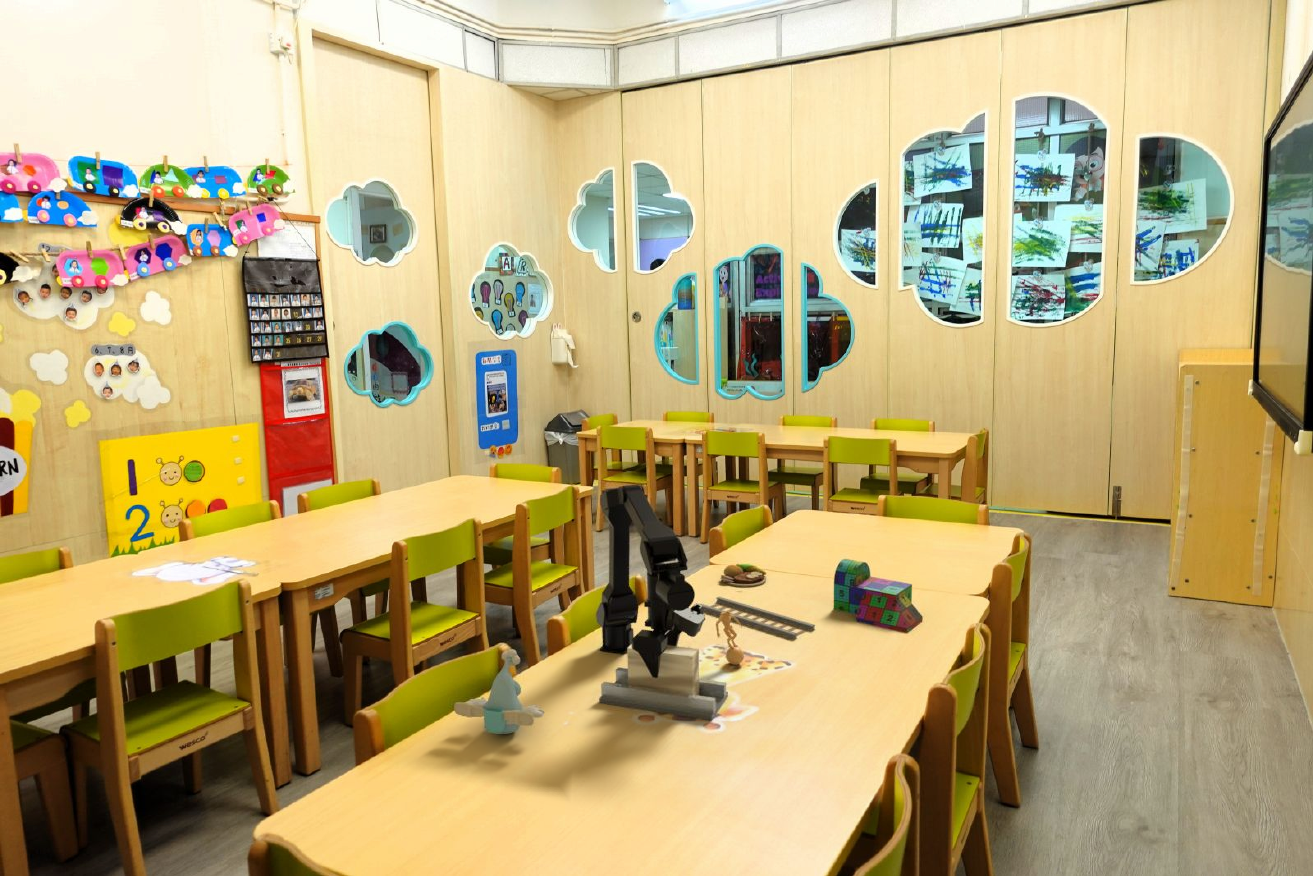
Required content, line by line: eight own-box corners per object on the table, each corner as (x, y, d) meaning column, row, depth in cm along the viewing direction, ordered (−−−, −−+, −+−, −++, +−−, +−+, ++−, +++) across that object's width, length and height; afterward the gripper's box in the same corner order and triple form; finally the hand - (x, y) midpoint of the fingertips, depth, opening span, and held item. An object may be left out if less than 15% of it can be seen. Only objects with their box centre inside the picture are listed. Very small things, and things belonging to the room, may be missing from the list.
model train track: (790, 644, 206) (790, 636, 206) (694, 613, 228) (694, 605, 228) (818, 631, 214) (818, 623, 213) (722, 602, 236) (722, 595, 236)
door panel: (693, 704, 172) (692, 656, 171) (628, 694, 177) (627, 648, 176) (699, 695, 176) (698, 649, 175) (635, 686, 181) (634, 640, 180)
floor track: (599, 702, 176) (598, 686, 176) (620, 680, 186) (620, 665, 186) (711, 720, 167) (711, 703, 167) (727, 696, 178) (727, 680, 177)
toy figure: (557, 724, 167) (554, 651, 165) (532, 751, 158) (529, 673, 155) (482, 713, 173) (478, 641, 170) (453, 738, 163) (448, 662, 161)
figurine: (730, 672, 189) (729, 620, 187) (709, 665, 193) (708, 613, 192) (753, 660, 195) (753, 609, 193) (732, 653, 199) (732, 603, 197)
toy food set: (744, 596, 240) (744, 582, 240) (703, 587, 249) (703, 573, 248) (780, 577, 256) (780, 564, 255) (741, 569, 264) (741, 556, 264)
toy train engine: (825, 615, 223) (825, 568, 221) (850, 599, 235) (851, 554, 233) (907, 633, 210) (908, 584, 208) (929, 615, 221) (931, 568, 219)
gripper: (684, 614, 162) (685, 693, 164) (713, 584, 179) (714, 655, 181) (629, 608, 166) (631, 685, 168) (663, 579, 183) (665, 649, 185)
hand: (663, 668), depth 176 cm, fingers open, 9 cm apart
